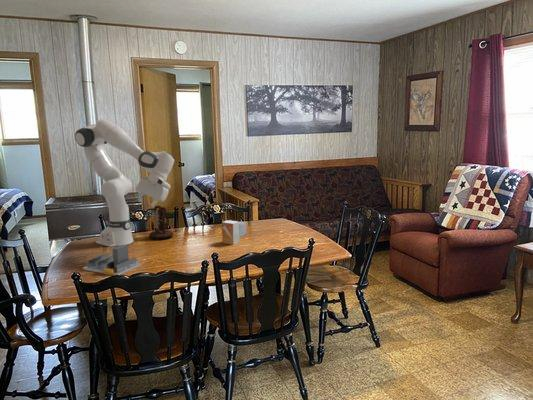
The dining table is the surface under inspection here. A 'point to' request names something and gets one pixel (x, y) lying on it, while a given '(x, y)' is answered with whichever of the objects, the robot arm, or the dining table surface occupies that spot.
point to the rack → (110, 265)
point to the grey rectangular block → (120, 254)
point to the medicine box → (242, 229)
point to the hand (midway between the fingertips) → (145, 204)
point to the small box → (230, 232)
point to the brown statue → (160, 224)
